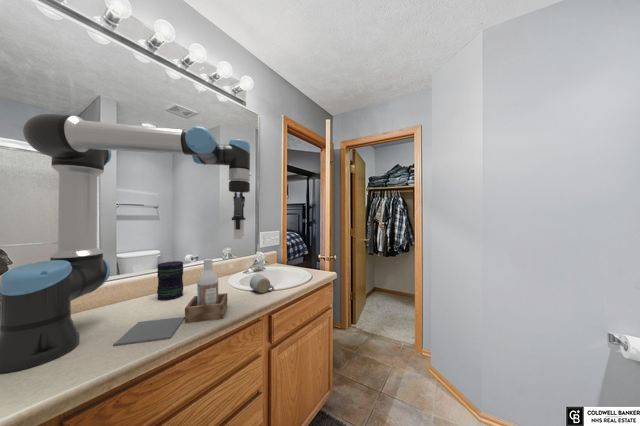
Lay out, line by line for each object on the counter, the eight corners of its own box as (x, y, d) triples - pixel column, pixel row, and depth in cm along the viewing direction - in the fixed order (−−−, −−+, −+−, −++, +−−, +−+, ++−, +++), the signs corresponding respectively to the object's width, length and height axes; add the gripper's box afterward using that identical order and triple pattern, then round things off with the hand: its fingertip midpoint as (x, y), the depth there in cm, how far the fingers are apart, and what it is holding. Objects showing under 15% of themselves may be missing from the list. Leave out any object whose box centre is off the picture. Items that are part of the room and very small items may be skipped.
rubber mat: (113, 346, 63) (113, 344, 63) (138, 323, 77) (138, 321, 77) (170, 338, 67) (170, 337, 67) (185, 318, 80) (185, 316, 80)
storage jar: (159, 294, 104) (159, 262, 105) (184, 291, 109) (184, 260, 109) (154, 302, 95) (154, 266, 96) (181, 298, 100) (182, 264, 100)
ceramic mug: (257, 295, 103) (257, 278, 103) (249, 291, 109) (249, 275, 109) (277, 290, 110) (277, 274, 110) (268, 286, 116) (269, 271, 116)
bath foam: (200, 319, 79) (201, 262, 80) (194, 313, 84) (194, 259, 84) (221, 313, 84) (221, 259, 84) (214, 308, 89) (214, 257, 89)
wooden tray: (184, 322, 77) (184, 308, 77) (194, 308, 88) (194, 296, 88) (223, 318, 80) (223, 304, 80) (227, 305, 92) (227, 293, 92)
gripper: (249, 176, 75) (248, 240, 75) (250, 186, 99) (249, 234, 99) (224, 174, 73) (224, 240, 73) (231, 185, 97) (231, 235, 97)
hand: (239, 237), depth 86 cm, fingers open, 13 cm apart
